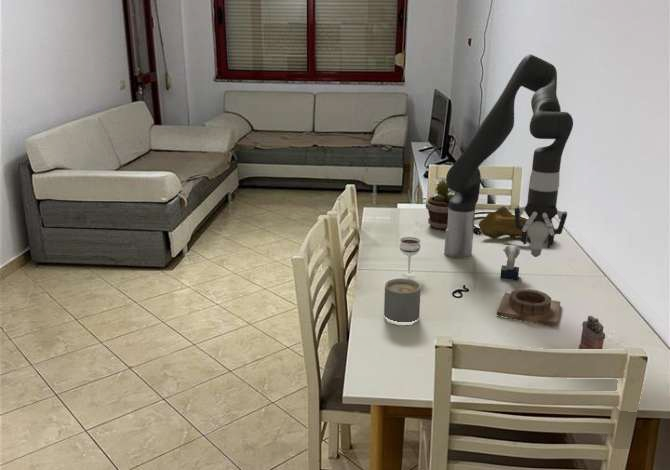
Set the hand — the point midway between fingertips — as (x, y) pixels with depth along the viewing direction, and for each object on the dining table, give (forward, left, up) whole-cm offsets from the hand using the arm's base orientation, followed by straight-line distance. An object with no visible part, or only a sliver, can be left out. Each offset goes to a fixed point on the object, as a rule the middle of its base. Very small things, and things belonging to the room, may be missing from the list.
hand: (536, 245), depth 165 cm
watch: (-9, +23, -21) cm, 32 cm away
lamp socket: (0, 0, -20) cm, 20 cm away
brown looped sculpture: (-13, +62, -21) cm, 67 cm away
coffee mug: (-33, -17, -21) cm, 43 cm away
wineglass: (-40, +12, -21) cm, 47 cm away
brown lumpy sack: (+17, -19, -21) cm, 33 cm away
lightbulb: (0, 0, -4) cm, 4 cm away
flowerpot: (-42, +65, -21) cm, 80 cm away
